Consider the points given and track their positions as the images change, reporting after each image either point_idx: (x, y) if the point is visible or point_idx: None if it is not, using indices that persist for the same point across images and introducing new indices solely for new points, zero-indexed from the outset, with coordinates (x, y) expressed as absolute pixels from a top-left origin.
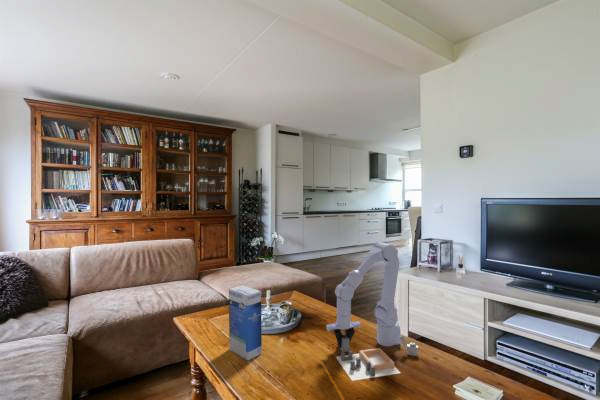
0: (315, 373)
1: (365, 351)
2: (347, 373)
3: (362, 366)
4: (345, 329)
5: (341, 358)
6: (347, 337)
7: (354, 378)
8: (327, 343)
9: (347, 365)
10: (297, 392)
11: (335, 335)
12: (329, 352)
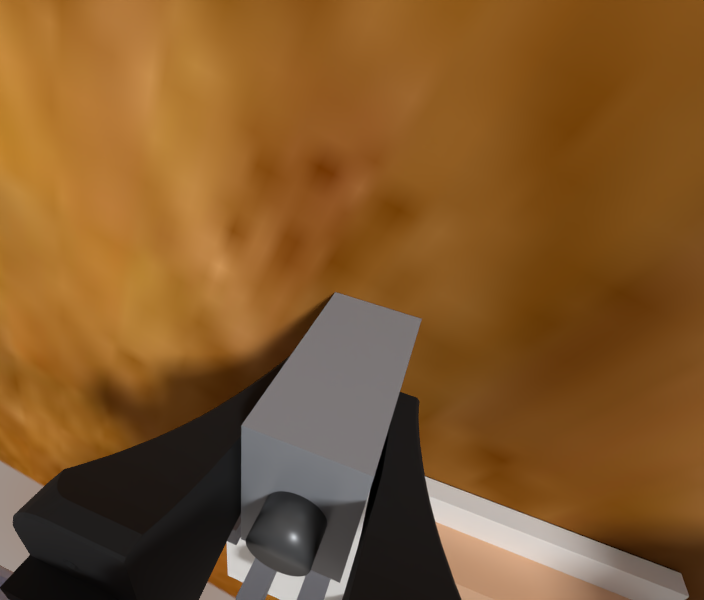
0: (78, 427)
1: (465, 597)
2: (229, 544)
3: (348, 573)
4: (350, 590)
5: None
6: (337, 555)
7: (245, 577)
8: (261, 113)
9: None
10: (8, 460)
11: (179, 434)
12: (215, 307)
